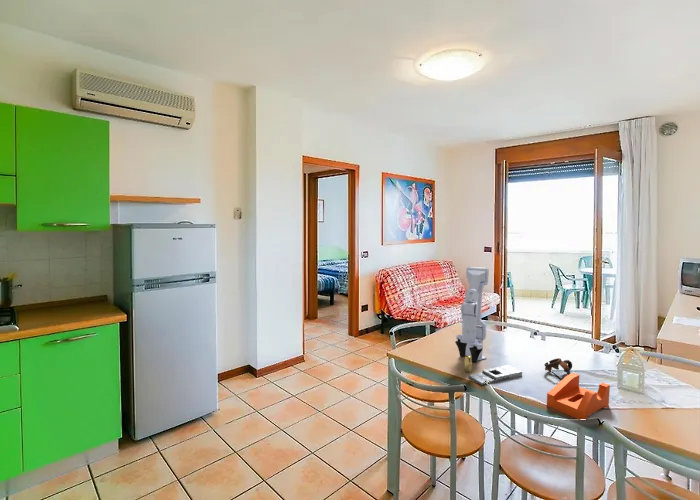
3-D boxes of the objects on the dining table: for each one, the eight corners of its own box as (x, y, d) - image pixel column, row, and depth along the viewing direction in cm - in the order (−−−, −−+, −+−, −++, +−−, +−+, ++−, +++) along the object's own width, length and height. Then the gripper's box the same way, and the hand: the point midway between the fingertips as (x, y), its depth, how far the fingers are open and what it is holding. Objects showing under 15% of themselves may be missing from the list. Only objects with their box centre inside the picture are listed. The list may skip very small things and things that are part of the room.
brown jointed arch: (563, 383, 155) (553, 364, 157) (547, 384, 163) (537, 366, 165) (582, 371, 159) (572, 353, 161) (565, 373, 168) (556, 355, 170)
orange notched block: (572, 393, 146) (573, 372, 145) (608, 407, 136) (609, 384, 135) (546, 406, 136) (547, 384, 136) (583, 422, 126) (585, 398, 125)
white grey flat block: (481, 385, 153) (481, 380, 153) (468, 377, 160) (468, 373, 160) (522, 376, 161) (522, 371, 161) (507, 369, 169) (507, 364, 168)
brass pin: (463, 370, 167) (463, 355, 166) (468, 369, 168) (468, 354, 168) (467, 373, 164) (467, 358, 164) (473, 372, 165) (473, 356, 165)
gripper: (451, 326, 170) (450, 355, 171) (473, 335, 156) (472, 367, 157) (463, 324, 172) (462, 353, 173) (486, 333, 159) (485, 364, 160)
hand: (468, 359), depth 166 cm, fingers open, 7 cm apart
